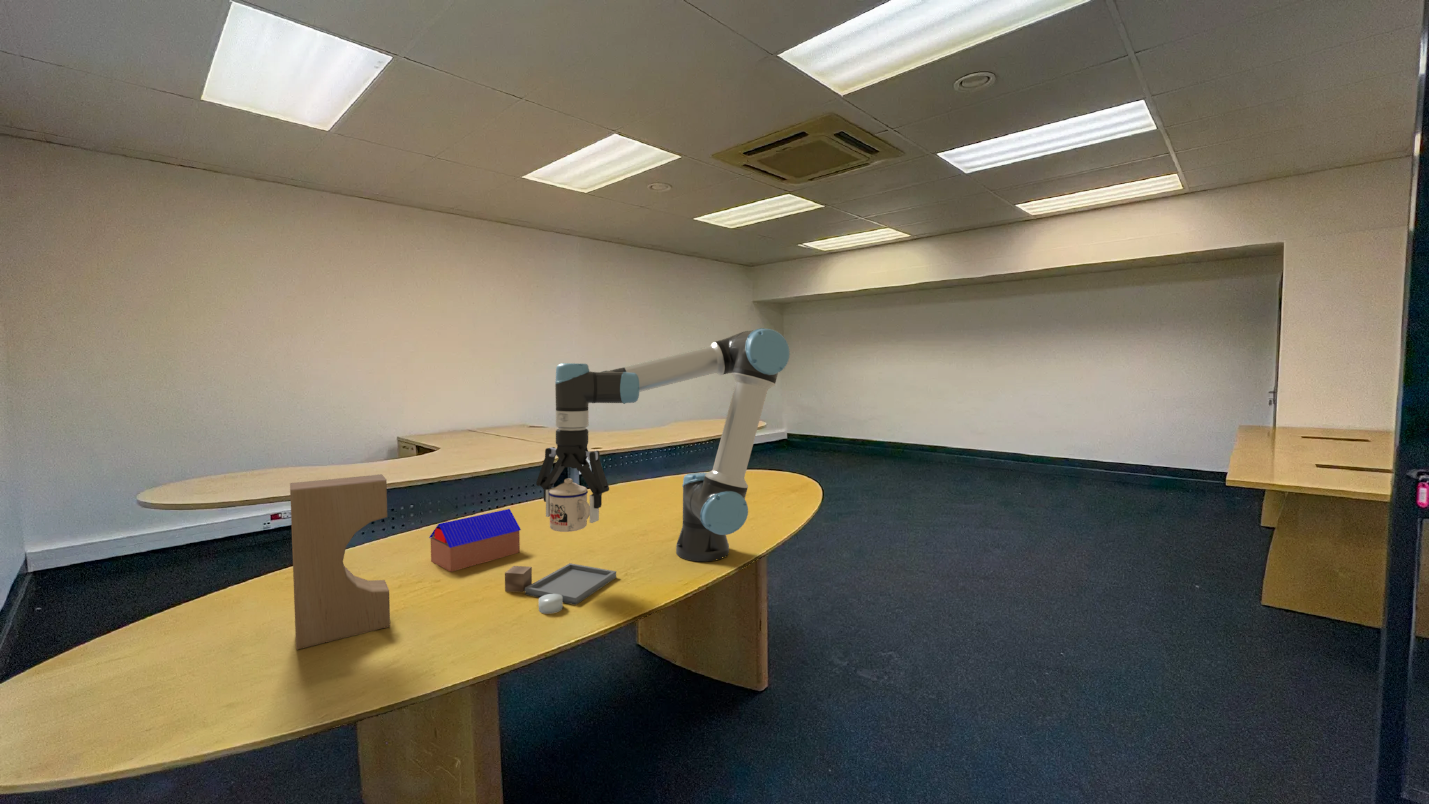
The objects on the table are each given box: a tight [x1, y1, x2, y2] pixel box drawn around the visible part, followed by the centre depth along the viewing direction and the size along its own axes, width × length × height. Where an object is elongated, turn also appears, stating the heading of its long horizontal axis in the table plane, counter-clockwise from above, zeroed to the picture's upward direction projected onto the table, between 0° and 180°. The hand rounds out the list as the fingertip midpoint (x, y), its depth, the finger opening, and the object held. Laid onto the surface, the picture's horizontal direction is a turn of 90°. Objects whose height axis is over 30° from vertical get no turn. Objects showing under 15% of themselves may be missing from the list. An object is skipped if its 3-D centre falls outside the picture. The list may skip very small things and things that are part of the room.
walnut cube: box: [504, 565, 533, 593], centre depth 128 cm, size 4×4×4 cm
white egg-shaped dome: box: [538, 594, 563, 615], centre depth 118 cm, size 5×5×2 cm
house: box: [428, 508, 522, 573], centre depth 148 cm, size 12×20×12 cm, turn 141°
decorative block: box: [289, 474, 391, 650], centre depth 106 cm, size 15×8×30 cm, turn 128°
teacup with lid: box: [549, 478, 590, 533], centre depth 129 cm, size 12×9×12 cm
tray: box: [524, 562, 617, 606], centre depth 130 cm, size 14×17×2 cm
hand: (572, 518), depth 129 cm, fingers closed on teacup with lid, 12 cm apart
